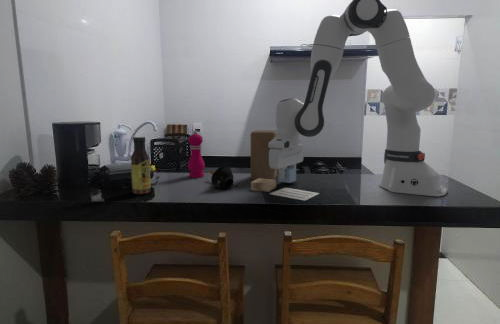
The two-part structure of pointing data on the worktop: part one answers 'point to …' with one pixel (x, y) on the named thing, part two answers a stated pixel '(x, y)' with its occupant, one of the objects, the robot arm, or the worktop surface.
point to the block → (261, 154)
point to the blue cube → (288, 175)
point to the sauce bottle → (140, 167)
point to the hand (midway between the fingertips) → (287, 176)
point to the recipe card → (294, 193)
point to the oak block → (263, 184)
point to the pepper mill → (196, 156)
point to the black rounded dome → (222, 177)
